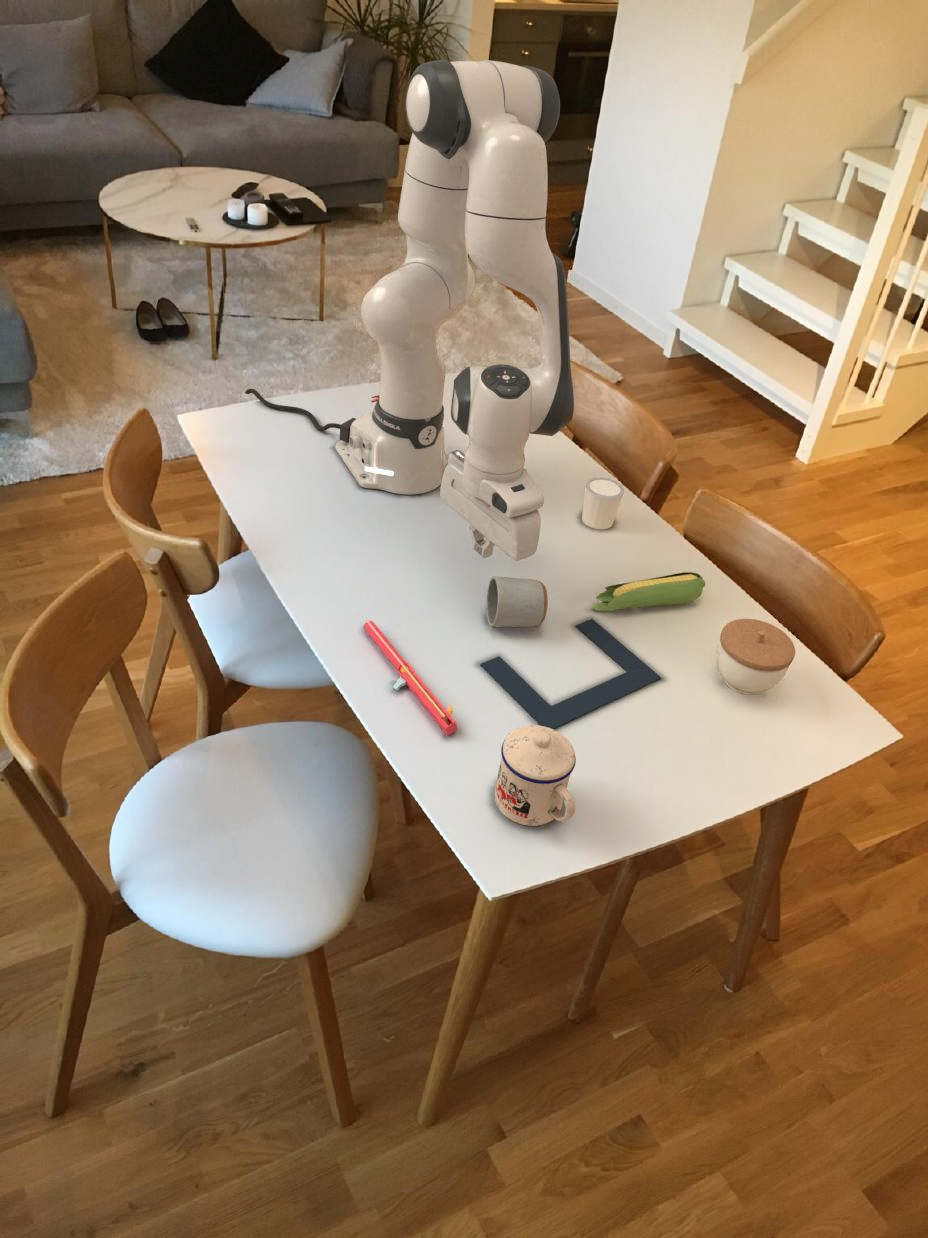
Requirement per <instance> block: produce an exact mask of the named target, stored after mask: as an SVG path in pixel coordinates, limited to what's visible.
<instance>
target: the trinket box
mask: <svg viewBox="0 0 928 1238" xmlns="http://www.w3.org/2000/svg"><path fill="white" fill-rule="evenodd" d="M720 632H721V633H720V636H719V640H718V644H717V648H716V655H715V660H716V662H715V663H716V668H717V671H718V673H719V675H720V676H721V678H722V679H723V681H724V683H725V684H726V686H728V687H729V689H731V690H732V691H734V692H736V693H738V694H742V695H748V696H749V695H751V696H752V695H758V694H760V693H764V692H767V691H769V690H771V689H772V688H774V687H776V686H777V685H778V684H779V683H780V682H781V680H782V679H783V678H784V677H785V675H786V674H787V672H788V670H789V668H790V666H791V664H792V663H793V661H794V659H795V656H796V647H795V644H794V642H793V640H792V639H791V638H790V637H789V636H788V634H787V633H786V632H784V631H783V630H782V629H780V628H779V627H777V626H775V625H773V624H771V623H769V622H767V621H764V620H759V619H755V618H738V619H734V620H731V621H729V622H727V623H726V624H725V625H724V626H723V628H722V630H721V631H720Z"/></svg>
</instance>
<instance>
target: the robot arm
mask: <svg viewBox="0 0 928 1238" xmlns="http://www.w3.org/2000/svg"><path fill="white" fill-rule="evenodd" d="M408 80H409V81H408V83H407V87H406V90H405V99H404V112H405V118H406V122H407V125H408V127H409V130H410V131H411V132H412V133H411V136H410V141H409V144H408V149H407V154H406V159H405V166H404V171H403V179H402V183H401V185H402V186H401V192H400V199H399V205H398V210H397V211H398V212H397V221H398V225H399V227H400V229H401V230H402V232H403V233H404V234H405V239H406V256H405V260H404V261H403V263H402V265H401V266H400V267H399V268H397V269H395V270H393V271H391V272H389V273H387V274H385V275H384V276H382V277H381V278H379V279H378V280H377V281H376V282H375V284H374V285H372V287H371V288H370V289H369V290H368V291H367V292H366V294H365V295H364V297H363V299H362V302H361V306H360V316H361V321H362V324H363V326H364V329H365V330H366V332H367V333H368V335H369V336H370V337H371V338H372V339H373V340H374V341H375V342H376V344H377V347H378V351H379V358H380V379H379V394H377V395H372V396H370V399H372V400H370V403H375V405H374V407H373V410H372V411H370V412H368V413H366V414H364V415H361V416H359V417H357V418H356V417H352V418H350V419H349V420H346V421H345V422H342V423H341V424H340V423H335V422H332V423H331V422H329V423H327V424H324V425H323V426H322V425H321V424H320V423H319V422H318V420H317V419H316V417H315V416H314V415H313V414H312V413H311V412H310V411H308V410H307V409H304V408H301V407H298V406H290V405H281V404H275V403H272V402H270V401H268V400H267V399H265V398H264V397H263V395H261V394H260V392H258V391H257V390H256V389H254V388H248V389H246V390H245V391H244V394H246V395H250V394H252V395H254V396H255V398H257V399H258V401H260V403H262V404H263V405H264V406H266V407H268V408H271V409H273V410H274V409H275V410H278V411H279V410H280V411H288V412H294V413H295V412H296V413H299V414H303V415H305V416H307V417H308V418H309V419H310V421H311V422H312V424H313V426H314V427H315V428H316V429H317V430H318V431H321V432H325V431H327V430H329V429H338V430H339V440H338V441H337V442H336V443H335V451H336V452H337V453H338V455H339V456H340V457H339V458H341V460H342V461H343V463H344V464H345V466H346V467H347V468H348V470H349V472H350V473H351V474H352V476H353V478H354V479H355V481H356V483H358V485H359V486H360V487H362V488H365V489H374V490H381V491H385V492H388V493H392V494H397V495H420V494H425V493H428V492H431V491H433V490H435V489H437V488H438V487H439V486H440V488H439V494H440V499H441V501H442V502H443V504H445V505H446V506H447V507H448V508H449V509H450V510H452V511H453V512H454V513H456V514H457V515H458V516H459V517H461V518H462V519H463V520H465V521H466V523H468V524H469V527H468V528H469V532H470V536H471V538H472V539H471V540H472V546H471V548H472V549H473V550H474V551H475V552H476V553H477V554H479V556H481V557H482V558H483V559H487V558H489V557H491V556H492V555H493V551H494V547H495V546H496V547H497V548H498V549H499V550H501V551H502V552H503V553H504V554H505V555H506V556H508V557H509V558H510V559H511V560H513V561H514V562H519V561H522V560H525V559H528V558H530V557H532V556H533V555H535V553H536V552H537V549H538V545H539V541H540V535H541V534H540V533H541V525H542V523H541V522H542V519H541V515H540V512H539V509H541V508H543V506H544V504H545V497H544V494H543V493H542V492H541V490H540V489H539V488H538V486H537V485H536V484H535V482H534V481H533V480H532V478H531V476H530V474H529V472H528V470H527V469H526V468H525V465H526V464H525V462H526V457H525V447H526V444H527V442H528V440H529V437H530V435H537V436H538V435H539V436H547V437H553V436H555V435H556V434H558V433H559V432H561V431H562V430H563V429H564V428H566V426H567V425H568V424H569V423H570V422H571V421H572V420H573V416H574V412H575V404H576V403H575V402H576V400H575V391H574V385H573V376H572V365H571V347H570V325H569V324H570V323H569V322H570V321H569V306H568V305H569V304H568V303H569V302H568V290H567V289H568V288H567V280H566V273H565V269H564V265H563V262H562V260H561V258H560V257H559V256H557V254H555V253H553V252H552V249H551V248H550V246H549V242H548V238H547V234H546V216H547V206H548V190H549V189H548V180H549V179H548V159H547V157H548V156H547V148H546V147H547V146H546V143H547V142H548V141H549V140H550V139H551V137H552V135H553V134H554V132H555V129H556V128H557V126H558V122H559V118H560V112H561V99H560V94H559V90H558V89H559V88H558V86H557V84H556V81H555V79H554V78H553V77H552V76H551V75H550V73H548V72H547V71H544V70H542V69H540V68H537V67H535V66H531V65H527V64H526V65H525V64H524V65H518V64H514V63H509V62H505V61H504V62H503V61H497V60H488V59H485V60H482V61H481V60H455V61H449V60H447V59H436V60H431V61H427V62H424V63H422V64H420V65H418V66H417V67H416V68H415V69H414V71H413V73H412V74H411V76H410V78H409V79H408ZM469 259H470V260H471V262H472V263H473V264H474V265H475V267H476V268H477V269H478V270H479V271H480V272H481V273H483V274H484V275H485V276H487V277H489V278H490V279H491V280H493V281H495V282H497V283H499V284H501V285H502V286H503V285H504V286H505V287H507V288H510V289H512V290H514V291H516V292H518V293H520V294H522V295H524V296H526V297H527V298H528V299H529V300H530V301H531V302H533V304H534V306H535V308H536V312H537V317H538V318H537V319H538V336H539V356H540V362H539V363H538V365H535V366H534V367H521V366H520V367H519V366H513V365H509V364H503V363H502V364H501V363H500V364H498V363H497V364H492V365H471V366H467V367H465V368H464V369H463V370H461V372H460V373H458V375H456V377H455V378H454V379H453V387H452V388H453V389H452V397H451V398H452V399H451V405H450V417H451V420H452V421H453V423H454V424H455V425H456V426H457V428H458V429H459V430H460V431H461V433H463V434H464V435H465V436H466V435H467V436H468V445H467V448H466V450H465V452H463V451H461V450H459V449H456V450H452V451H451V452H449V454H448V459H447V458H446V457H445V428H444V426H443V425H444V420H445V407H444V404H443V402H444V394H445V393H444V391H445V383H446V373H447V368H446V367H447V366H446V363H445V361H444V359H443V358H442V357H441V356H440V355H439V354H438V349H437V336H438V332H439V330H440V327H441V326H442V325H443V324H445V323H446V322H448V321H449V320H451V319H452V318H454V317H456V316H457V315H458V314H459V313H461V312H462V310H463V309H464V308H465V307H466V305H467V304H468V303H469V301H470V300H471V298H472V296H473V295H474V292H475V288H476V278H475V272H474V270H473V268H472V266H471V263H470V262H469Z"/></svg>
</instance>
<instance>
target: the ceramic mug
mask: <svg viewBox="0 0 928 1238" xmlns="http://www.w3.org/2000/svg"><path fill="white" fill-rule="evenodd" d="M548 600H549V599H548V591H547V586H546V585H545V584H544V583H543V582H542V581H541V580H537V579H534V578H533V579H532V578H519V577H511V576H510V577H509V576H500V575H499V576H498V575H497V576H496V575H494V576H492V577H491V578H490V580H489V582H488V586H487V591H486V616H487V622H488V624H489V626H490V627H492V628H520V627H521V628H531V627H537V626H541V625H542V624H543V623H544V621H545V619H546V616H547V612H548V606H549V605H548V604H549V603H548V602H549V601H548Z"/></svg>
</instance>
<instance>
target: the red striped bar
mask: <svg viewBox="0 0 928 1238" xmlns="http://www.w3.org/2000/svg"><path fill="white" fill-rule="evenodd" d="M363 629H364V631H365V632H366V633H367V634H368V636H369V637H370V638H371V639H372V641H373V643H375V644H376V646H377V647H378V648H379V649H380V651H381V652H382V654H383V655H384V656H385V657H386V658H387V659H388V661H389V662H390V663H391V664H392V665H393V667H394V668H395V669H396V672H397V674H398V675H399V678H397V680H396V682H395V683H394V684H393V686H392V687H393V689H394V690H395V691H396V692H398V691H399V690H400V688H402V687H403V686H407V687H408V689H409V690H410V691H411V693H412V694H413V695H414V696H415V698H416V699H417V700H418V702H420V704H421V705H422V706H423V707H424V709H425V710H426V711H427V713H428V714H429V715H430V717H431V718H432V719H433V720H434V721H435V723H436V724H437V725H438V727H440V729H441V730H442V731H443V732H444V734H445V735H446V736H447V737H449V736H450V735H451V734H453V733H454V732H456V731H457V730H458V726H457V722H456V721H455V720H454V719H453V717H452V716H451V715H452V713H453V706H452V704H449V707H448V708H447V709H445V707H444V706H443V705H442V704H441V702H440V701H439V700H438V698H436V697H435V695H434V693H432V692H431V689H429V688H428V686H427V685H426V684H425V682H424V681H423V680H422V679H421V678H420V677H419V676H418V675H417V673H416V671H415V669H414V668H413V667H412V666H411V665H410V664H409V662H408V661H406V660H405V659H404V658H403V657H402V656H401V654H400V653H399V652H398V650H396V648H395V647H394V646H393V644H392V643H391V642H390V641H389V639H388V638H387V637H386V636H385V634H384V633H383V632H382V631H381V629H380V628H379V627H378V626H377V625H376V624H375V622H374V621H373V620H368V619H367V618H365V623H364V624H363Z"/></svg>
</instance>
